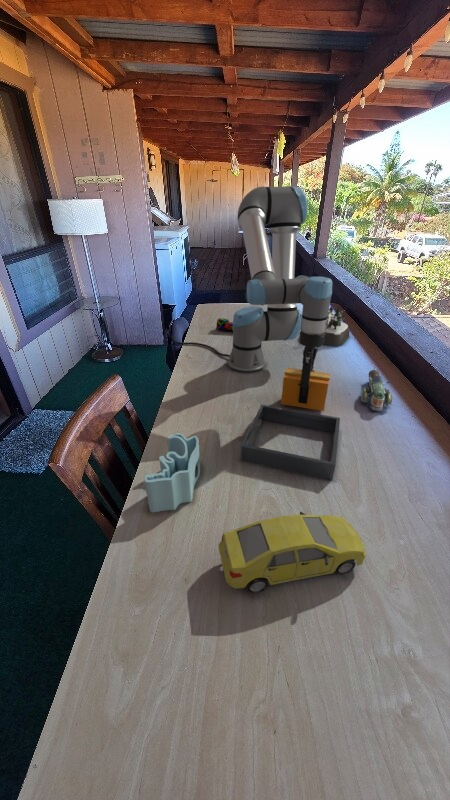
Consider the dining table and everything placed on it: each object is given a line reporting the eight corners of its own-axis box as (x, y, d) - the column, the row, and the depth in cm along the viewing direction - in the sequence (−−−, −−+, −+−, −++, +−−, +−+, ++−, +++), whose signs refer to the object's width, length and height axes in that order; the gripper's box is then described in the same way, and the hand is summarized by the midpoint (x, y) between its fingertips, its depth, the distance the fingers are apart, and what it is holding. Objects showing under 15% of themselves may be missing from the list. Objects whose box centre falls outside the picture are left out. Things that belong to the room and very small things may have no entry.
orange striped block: (280, 403, 117) (283, 375, 112) (284, 393, 123) (287, 365, 118) (324, 411, 113) (329, 381, 108) (326, 400, 119) (331, 371, 114)
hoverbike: (360, 410, 116) (365, 389, 112) (358, 377, 136) (362, 358, 132) (391, 415, 114) (398, 393, 109) (384, 380, 134) (390, 361, 130)
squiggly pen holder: (190, 515, 79) (188, 484, 74) (148, 511, 80) (142, 481, 75) (202, 462, 94) (201, 434, 90) (166, 459, 95) (163, 432, 90)
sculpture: (273, 329, 171) (216, 320, 178) (272, 339, 173) (215, 329, 181) (276, 326, 179) (221, 317, 186) (275, 335, 181) (220, 326, 188)
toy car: (372, 576, 66) (385, 542, 61) (229, 608, 61) (229, 574, 56) (341, 525, 76) (350, 492, 71) (216, 549, 71) (215, 516, 66)
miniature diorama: (351, 335, 176) (358, 301, 168) (339, 348, 162) (346, 311, 153) (313, 327, 186) (318, 295, 177) (299, 339, 171) (303, 304, 162)
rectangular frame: (241, 460, 95) (241, 445, 92) (260, 417, 113) (261, 404, 110) (332, 480, 88) (335, 465, 86) (337, 431, 106) (340, 417, 104)
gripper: (322, 344, 96) (312, 414, 108) (328, 322, 113) (318, 384, 125) (295, 341, 98) (287, 410, 110) (304, 320, 115) (297, 381, 127)
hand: (304, 396), depth 117 cm, fingers closed on orange striped block, 7 cm apart
